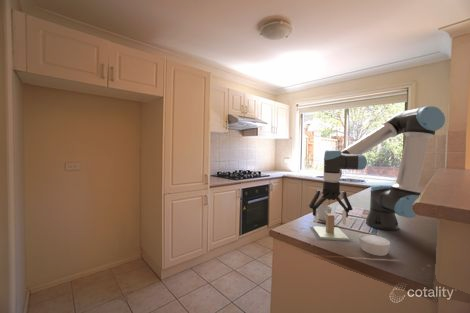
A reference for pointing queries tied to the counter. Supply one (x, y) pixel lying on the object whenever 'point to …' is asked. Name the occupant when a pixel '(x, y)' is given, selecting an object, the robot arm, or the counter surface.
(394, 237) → the counter surface
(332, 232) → the cover
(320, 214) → the cup
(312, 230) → the mat
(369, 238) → the ramekin
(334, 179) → the robot arm
